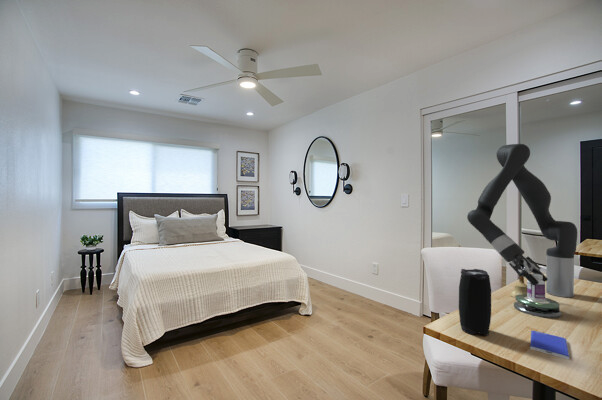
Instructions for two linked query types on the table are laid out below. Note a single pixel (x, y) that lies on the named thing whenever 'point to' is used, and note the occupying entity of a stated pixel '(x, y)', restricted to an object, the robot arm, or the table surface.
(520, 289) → the hand bell
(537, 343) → the hard drive
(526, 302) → the levelling base
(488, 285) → the portable speaker
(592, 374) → the table surface
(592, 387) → the table surface
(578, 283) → the table surface
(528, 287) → the pill bottle
